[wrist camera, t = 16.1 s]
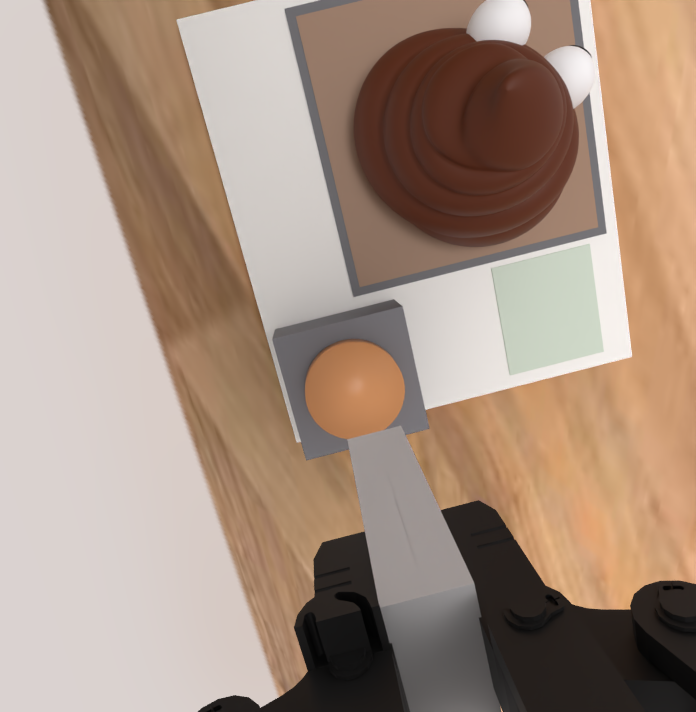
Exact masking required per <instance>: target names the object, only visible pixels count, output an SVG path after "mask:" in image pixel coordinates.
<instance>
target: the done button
mask: <svg viewBox="0 0 696 712" xmlns="http://www.w3.org/2000/svg"><path fill="white" fill-rule="evenodd" d="M404 396H405V384H404V379H403V376H402V373H401V371H400V369H399V367H398V365H397V364H396V362H395V361H394V359H393V358H392V357H391V355H390V354H389V353H388V352H387V351H386V350H385V349H383V348H382V347H380V346H379V345H377V344H375V343H373V342H370V341H367V340H362V339H347V340H342V341H338V342H335V343H333V344H331V345H329V346H328V347H326V348H325V349H323V350H322V351H321V352H320V353H319V354H318V355H317V356H316V357H315V359H314V360H313V361H312V363H311V365H310V367H309V369H308V372H307V375H306V380H305V399H306V404H307V407H308V410H309V412H310V414H311V416H312V418H313V419H314V421H315V422H316V423H317V424H318V425H319V426H320V427H321V428H322V429H323V430H325V431H326V432H328V433H330V434H332V435H334V436H336V437H339V438H344V439H351V438H355V437H358V436H362V435H366V434H370V433H374V432H378V431H382V430H385V429H386V428H387V427H388V426H389V425H390V424H391V423H392V422H393V421H394V420H395V418H396V417H397V416H398V414H399V412H400V410H401V408H402V405H403V401H404Z"/></svg>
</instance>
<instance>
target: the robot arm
mask: <svg viewBox="0 0 696 712" xmlns="http://www.w3.org/2000/svg"><path fill="white" fill-rule="evenodd" d="M347 440H348V446H349V451H350V456H351V461H352V467H353V472H354V477H355V482H356V487H357V493H358V498H359V503H360V508H361V514H362V519H363V524H364V529H365V532H361V533H357V534H353V535H349V536H346V537H342V538H338V539H334V540H330V541H326V542H323V543H322V544H321V546H320V548H319V550H318V552H317V554H316V556H315V558H314V578H315V579H314V590H315V597H314V598H313V599H311V600H310V601H309V602H307V603H306V604H305V606H304V607H303V608H302V610H301V611H300V612H299V614H298V615H297V619H296V623H295V626H294V629H295V632H296V635H297V638H298V641H299V645H300V648H301V651H302V654H303V657H304V660H305V663H306V667H307V670H308V672H307V673H306V675H305V676H304V678H303V679H302V680H301V681H300V682H299V683H298V684H297V685H296V686H295V687H294V688H292V689H291V690H289V691H288V692H286V693H285V694H284V695H282V696H280V697H279V698H277V699H275V700H273V701H272V702H270V703H268V704H266V705H265V706H263V707H261V708H260V707H259V705H258V704H256V703H255V702H254V701H253V700H251V699H250V698H249V697H242V696H236V695H235V696H230V697H226V698H221V699H217V700H216V701H214V702H212V703H211V704H208V705H207V706H205V707H203V708H201V709H200V710H199V711H198V712H501V708H502V711H503V712H696V584H692V583H688V582H683V581H658V582H655V583H652V584H648V585H645V586H644V587H642V588H641V589H640V590H639V591H637V592H636V593H635V594H634V596H633V599H632V602H631V605H630V607H631V610H600V609H588V608H583V607H579V606H575V605H572V604H571V603H570V602H569V601H568V600H567V599H566V598H565V597H564V596H563V595H562V594H561V593H560V592H558V591H556V590H554V589H552V588H549V587H547V586H545V584H544V583H543V581H542V580H541V578H540V577H539V575H538V574H537V572H536V571H535V569H534V568H533V566H532V564H531V563H530V561H529V560H528V558H527V557H526V555H525V554H524V552H523V551H522V549H521V548H520V546H519V545H518V543H517V542H516V540H514V538H513V535H512V534H511V532H510V531H509V529H508V528H506V525H505V523H504V522H503V520H502V519H501V517H500V516H499V514H498V513H497V511H496V510H495V509H493V508H491V507H489V506H488V505H486V504H484V503H482V502H481V501H479V500H478V501H474V502H471V503H467V504H463V505H459V506H455V507H451V508H447V509H443V510H440V508H439V506H438V504H437V502H436V500H435V498H434V495H433V493H432V491H431V489H430V487H429V485H428V482H427V480H426V478H425V476H424V474H423V472H422V470H421V467H420V465H419V463H418V461H417V459H416V457H415V454H414V452H413V450H412V448H411V446H410V444H409V442H408V439H407V437H406V435H405V433H404V431H403V429H402V427H401V426H398V427H394V428H390V429H386V430H382V431H378V432H374V433H370V434H366V435H362V436H358V437H355V438H351V439H347ZM500 706H501V708H500Z"/></svg>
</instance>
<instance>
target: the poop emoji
mask: <svg viewBox="0 0 696 712" xmlns="http://www.w3.org/2000/svg"><path fill="white" fill-rule="evenodd" d="M530 30H531V16H530V12H529V9H528V5H527V3H526V1H525V0H486V1H484V2H483V3H482V4H481V5H480V6H479V7H478V8H477V9H476V11H475V12H474V14H473V15H472V17H471V19H470V21H469V24H468V27H467V28H441V29H434V30H429V31H425V32H422V33H419V34H416V35H413V36H411V37H409V38H406V39H405V40H403V41H401V42H399V43H398V44H396V45H395V46H393V47H392V48H391V49H389V50H388V51H387V52H386V53H385V54H384V55H383V56H382V57H381V58H380V59H379V60H378V61H377V62H376V64H375V65H374V66H373V68H372V69H371V70H370V72H369V74H368V75H367V77H366V79H365V81H364V83H363V85H362V87H361V90H360V93H359V96H358V99H357V103H356V108H355V114H354V140H355V146H356V151H357V155H358V158H359V161H360V164H361V167H362V169H363V171H364V174H365V176H366V177H367V179H368V181H369V183H370V184H371V186H372V187H373V189H374V190H375V192H376V193H377V194H378V196H379V197H380V198H381V199H382V200H383V201H384V202H385V203H386V204H387V205H388V206H389V207H390V208H391V209H392V210H393V211H394V212H396V213H397V214H398V215H400V216H401V217H402V218H404V219H406V220H407V221H409V222H410V223H412V224H414V225H415V226H416V227H417V228H419V229H420V230H422V231H423V232H425V233H426V234H428V235H430V236H432V237H434V238H436V239H438V240H441V241H443V242H446V243H450V244H453V245H458V246H465V247H485V246H492V245H497V244H501V243H504V242H507V241H510V240H513V239H515V238H517V237H519V236H521V235H523V234H524V233H526V232H528V231H529V230H531V229H532V228H533V227H535V226H536V225H537V224H538V223H539V222H541V221H542V220H543V219H544V218H545V217H546V215H547V214H548V213H549V212H550V211H551V209H552V208H553V207H554V205H555V204H556V202H557V200H558V199H559V197H560V195H561V193H562V191H563V188H564V186H565V185H566V183H567V181H568V179H569V177H570V175H571V173H572V171H573V168H574V165H575V162H576V158H577V153H578V146H579V127H578V121H577V116H576V112H575V109H574V108H576V107H577V106H578V105H579V104H581V103H582V102H583V100H584V99H585V98H586V97H587V95H588V94H589V92H590V90H591V88H592V86H593V83H594V79H595V66H594V62H593V60H592V56H591V54H590V53H589V52H588V51H587V50H586V49H585V48H583V47H581V46H578V45H570V46H564V47H560V48H557V49H555V50H553V51H551V52H549V53H548V54H547V55H545V56H544V57H543V56H542V55H541V54H539V53H538V52H537V51H535V50H534V49H532V48H531V47H529V46H527V45H526V42H527V40H528V37H529V34H530Z"/></svg>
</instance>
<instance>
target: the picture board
mask: <svg viewBox="0 0 696 712" xmlns="http://www.w3.org/2000/svg"><path fill="white" fill-rule="evenodd" d="M484 1H486V0H255V1H251V2H247V3H243V4H239V5H235V6H230V7H226V8H222V9H218V10H214V11H210V12H206V13H201V14H197V15H193V16H189V17H185V18H181V19H177V24H178V27H179V31H180V34H181V38H182V41H183V45H184V48H185V52H186V55H187V59H188V62H189V66H190V69H191V73H192V76H193V80H194V83H195V87H196V90H197V94H198V98H199V101H200V105H201V108H202V112H203V115H204V119H205V122H206V126H207V129H208V133H209V136H210V140H211V143H212V147H213V150H214V154H215V157H216V161H217V164H218V168H219V171H220V175H221V178H222V182H223V185H224V189H225V192H226V196H227V199H228V203H229V206H230V210H231V213H232V217H233V221H234V224H235V228H236V231H237V235H238V238H239V242H240V245H241V249H242V252H243V256H244V259H245V263H246V266H247V270H248V273H249V277H250V280H251V284H252V287H253V291H254V294H255V298H256V301H257V305H258V308H259V312H260V315H261V319H262V322H263V326H264V329H265V333H266V336H267V340H268V344H269V347H270V351H271V354H272V358H273V361H274V365H275V368H276V372H277V375H278V379H279V382H280V386H281V389H282V393H283V396H284V400H285V403H286V407H287V410H288V414H289V417H290V421H291V424H292V428H293V431H294V435H295V438H296V442H297V443H298V442H301V444H302V447H303V451H304V454H305V458H306V460H310V459H314V458H318V457H321V456H325V455H329V454H333V453H337V452H341V451H345V450H349V446H348V440H347V439H344V438H339V437H336V436H334V435H332V434H330V433H328V432H326V431H325V430H323V429H322V428H321V427H320V426H319V425H318V424H317V423H316V422H315V421H314V419H313V418H312V416H311V414H310V412H309V410H308V407H307V404H306V399H305V380H306V375H307V372H308V369H309V367H310V365H311V363H312V361H313V360H314V359H315V357H316V356H317V355H318V354H319V353H320V352H321V351H322V350H323V349H325V348H326V347H328V346H329V345H331V344H333V343H335V342H338V341H342V340H347V339H362V340H367V341H370V342H373V343H375V344H377V345H379V346H380V347H382V348H383V349H385V350H386V351H387V352H388V353H389V354H390V355H391V357H392V358H393V359H394V361H395V362H396V364H397V365H398V367H399V369H400V371H401V373H402V376H403V379H404V384H405V396H404V401H403V405H402V408H401V410H400V412H399V414H398V416H397V417H396V418H395V420H394V421H393V422H392V423H391V424H390V425H389V426H388V427H387V428H386V429H390V428H394V427H398V426H401V427H402V429H403V431H404V433H405V435H407V434H411V433H415V432H419V431H423V430H426V429H429V424H428V420H427V415H426V411H425V410H427V409H430V408H434V407H438V406H442V405H446V404H450V403H454V402H458V401H462V400H465V399H469V398H473V397H477V396H481V395H485V394H489V393H493V392H497V391H501V390H504V389H508V388H512V387H516V386H520V385H524V384H528V383H532V382H536V381H540V380H543V379H547V378H551V377H555V376H559V375H563V374H567V373H571V372H575V371H579V370H582V369H586V368H590V367H594V366H598V365H602V364H606V363H610V362H614V361H618V360H621V359H625V358H629V357H632V351H631V343H630V334H629V326H628V317H627V309H626V300H625V292H624V283H623V275H622V266H621V258H620V249H619V240H618V232H617V223H616V215H615V206H614V198H613V189H612V181H611V172H610V164H609V155H608V147H607V138H606V130H605V121H604V112H603V104H602V95H601V87H600V78H599V70H598V61H597V53H596V44H595V36H594V27H593V19H592V10H591V2H590V0H525V1H526V3H527V5H528V9H529V12H530V16H531V30H530V34H529V37H528V40H527V42H526V45H527V46H529V47H531V48H532V49H534V50H535V51H537V52H538V53H539V54H541V55H542V56H543V57H544V56H545V55H547V54H548V53H549V52H551V51H553V50H555V49H557V48H560V47H564V46H570V45H578V46H581V47H583V48H585V49H586V50H587V51H588V52H589V53H590V54H591V56H592V60H593V62H594V66H595V79H594V83H593V86H592V88H591V90H590V92H589V94H588V95H587V97H586V98H585V99H584V100H583V102H582V103H581V104H579V105H578V106H577V107H576V108H574V109H575V112H576V116H577V121H578V127H579V146H578V153H577V158H576V162H575V165H574V168H573V171H572V173H571V175H570V177H569V179H568V181H567V183H566V185H565V186H564V188H563V191H562V193H561V195H560V197H559V199H558V200H557V202H556V204H555V205H554V207H553V208H552V209H551V211H550V212H549V213H548V214H547V215H546V217H545V218H544V219H543V220H542V221H541V222H539V223H538V224H537V225H536V226H535V227H533V228H532V229H531V230H529V231H528V232H526V233H524V234H523V235H521V236H519V237H517V238H515V239H513V240H510V241H507V242H504V243H501V244H497V245H492V246H485V247H465V246H458V245H453V244H450V243H446V242H443V241H441V240H438V239H436V238H434V237H432V236H430V235H428V234H426V233H425V232H423V231H422V230H420V229H419V228H417V227H416V226H415V225H414V224H412V223H410V222H409V221H407V220H406V219H404V218H402V217H401V216H400V215H398V214H397V213H396V212H394V211H393V210H392V209H391V208H390V207H389V206H388V205H387V204H386V203H385V202H384V201H383V200H382V199H381V198H380V197H379V196H378V194H377V193H376V192H375V190H374V189H373V187H372V186H371V184H370V183H369V181H368V179H367V177H366V176H365V174H364V171H363V169H362V167H361V164H360V161H359V158H358V155H357V151H356V146H355V140H354V114H355V108H356V103H357V99H358V96H359V93H360V90H361V87H362V85H363V83H364V81H365V79H366V77H367V75H368V74H369V72H370V70H371V69H372V68H373V66H374V65H375V64H376V62H377V61H378V60H379V59H380V58H381V57H382V56H383V55H384V54H385V53H386V52H387V51H388V50H389V49H391V48H392V47H393V46H395V45H396V44H398V43H399V42H401V41H403V40H405V39H406V38H409V37H411V36H413V35H416V34H419V33H422V32H425V31H429V30H434V29H441V28H467V27H468V24H469V21H470V19H471V17H472V15H473V14H474V12H475V11H476V9H477V8H478V7H479V6H480V5H481V4H482V3H483V2H484ZM386 429H385V430H386Z"/></svg>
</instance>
